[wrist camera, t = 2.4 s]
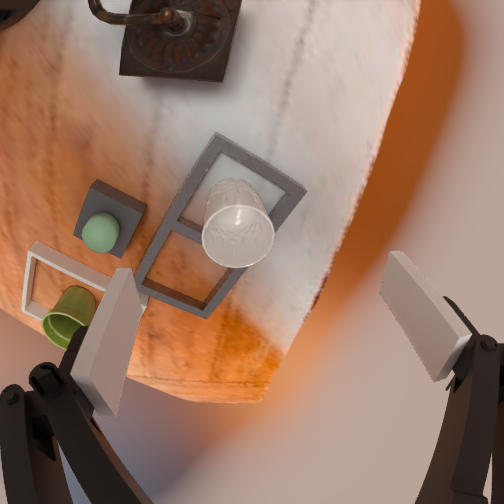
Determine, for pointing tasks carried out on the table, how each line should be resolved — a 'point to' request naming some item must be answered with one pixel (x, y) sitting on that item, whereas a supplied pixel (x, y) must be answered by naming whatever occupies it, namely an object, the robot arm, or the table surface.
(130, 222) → the block
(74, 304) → the plant pot
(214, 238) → the white cup
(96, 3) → the brown manual coffee grinder
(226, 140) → the gray divided frame
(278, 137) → the table surface
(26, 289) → the gray rectangular frame
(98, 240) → the button
